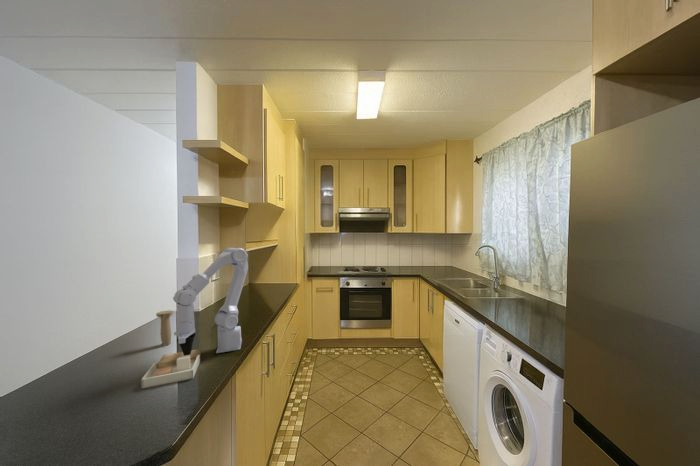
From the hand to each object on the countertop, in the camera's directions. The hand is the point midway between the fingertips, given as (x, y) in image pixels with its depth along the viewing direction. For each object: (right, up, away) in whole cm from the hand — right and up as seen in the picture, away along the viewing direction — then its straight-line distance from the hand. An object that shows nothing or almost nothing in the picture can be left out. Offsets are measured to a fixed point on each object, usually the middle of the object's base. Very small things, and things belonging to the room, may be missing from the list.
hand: (187, 354), depth 102 cm
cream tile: (+1, -1, -4) cm, 4 cm away
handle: (-21, -4, +18) cm, 28 cm away
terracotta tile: (-3, -1, -9) cm, 10 cm away
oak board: (-4, -4, +1) cm, 5 cm away
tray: (0, -4, -8) cm, 9 cm away
